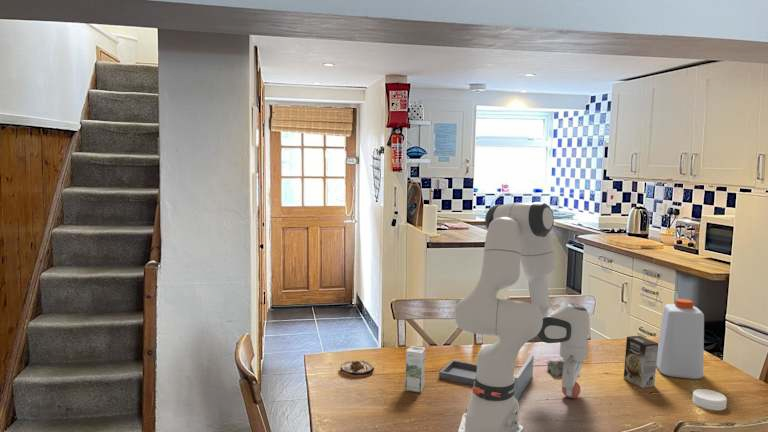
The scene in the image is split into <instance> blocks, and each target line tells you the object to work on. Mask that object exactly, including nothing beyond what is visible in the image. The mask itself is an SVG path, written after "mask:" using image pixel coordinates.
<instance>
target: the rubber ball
mask: <svg viewBox="0 0 768 432" xmlns="http://www.w3.org/2000/svg"><path fill="white" fill-rule="evenodd" d="M572 390H573V391H572V396H568V395H566V387H563V386H562V385H561V391H562V394H563V395H564V396H565V397H566V398H569V399H575V398H578V396H579V395H580V393H581V386H580V384H579V383H578V381H576V382H575V384H574V387H573V388H572Z"/></svg>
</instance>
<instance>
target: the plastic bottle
mask: <svg viewBox="0 0 768 432" xmlns="http://www.w3.org/2000/svg"><path fill="white" fill-rule="evenodd" d="M674 301H675V303H667V304H665V305H664V306H663V311H662V312H663V313H662V318H661V324H660V328H659V329H660V330H659V336H658V342H657V343H658V353H657V363H656V368H657V369H658V371H659V372H660V373H661V374H662V375H664V376H667V377H671V378H677V379H678V378H681V379H688V380H689V379H690V380H700V379H702V378H703V376H704V358H705V357H704V356H705V355H704V351H705V348H704V347H705V345H704V343H705V338H704V337H705V314H704V313H703V311H701V310H700V309H699V308H698V307H697V306H694V301H692V300H690V299H687V298H677V299H675V300H674Z"/></svg>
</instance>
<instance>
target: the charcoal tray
mask: <svg viewBox="0 0 768 432" xmlns="http://www.w3.org/2000/svg"><path fill="white" fill-rule="evenodd" d="M476 373H477V363H473V362H467V361H461V360H457V359H451V360H450V361H449V362H448V363H447V364H446V365H445V366H444V367H443V368H442V369H441V370H440V371H439V373H438V375H439V376H438V378H439V379H440V378H441V379H442V380H445V381H451V382H454V383H460V384H464V385H469V386H472V387H474V381H475V377H476ZM441 379H440V380H441Z"/></svg>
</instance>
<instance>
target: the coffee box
mask: <svg viewBox="0 0 768 432" xmlns="http://www.w3.org/2000/svg"><path fill="white" fill-rule="evenodd" d="M625 343H626V344H625V355H624V368H623V379H624V380H626V381H627V382H629V383H631V384H633V385H636V386H637V387H639V388H642V389H643V388H649V387H655V382H656V373H657V372H656V371H657V366H656V363H657V353H658V342H656V341H653V340H651V339H648V338H646V337H644V336H642V335H631V336H627V337H626V342H625Z"/></svg>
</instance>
